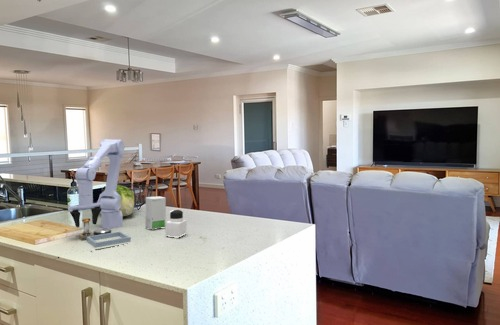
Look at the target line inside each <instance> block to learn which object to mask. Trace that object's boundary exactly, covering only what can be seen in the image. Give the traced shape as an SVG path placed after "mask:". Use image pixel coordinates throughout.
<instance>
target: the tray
mask: <svg viewBox="0 0 500 325" xmlns="http://www.w3.org/2000/svg"><path fill="white" fill-rule="evenodd" d="M115 237H120V238H115ZM110 238H111V239H110ZM112 238H115V239H112ZM131 238H132V237H131V236H130V235H127V234H126V233H124V232H122V231H115V232H111V233H107V234H101V235H95V236H88V237H87V240H86V242H88V243H89V244H90V245H91V246H93V247H95V249H94V251H99V250H100V251H101V250H105V249H110V248H111V247H112V248H116V247H115V246H117V247H120V246H119V245H120V244H121V245H123V246H125V245H124V244H126V243H131V242H132V240H131ZM104 239H105V240H104ZM106 239H109V240H106ZM97 240H98V241H97ZM99 240H103V241H99Z"/></svg>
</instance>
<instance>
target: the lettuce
mask: <svg viewBox="0 0 500 325" xmlns="http://www.w3.org/2000/svg"><path fill="white" fill-rule="evenodd" d="M104 191H105V189H104V190H103V191H102V192H101V193H103V192H104ZM116 192H117V193H118V194H119V195H120V196H121V207H120V209H119V210H121V212H122V215H123V218H124V217H126V216H129V215H131V214H132V213H133V212H134V210H135V203H136V201H135V200H136V199H135V195H134V192H133V191H132V190H131V189H130V188H128V186H124V185H121V184H117V189H116ZM107 198H114V197H107Z"/></svg>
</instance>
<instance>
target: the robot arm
mask: <svg viewBox="0 0 500 325" xmlns="http://www.w3.org/2000/svg"><path fill="white" fill-rule="evenodd" d="M124 153H125V143H124V141H123V139H121V138H119V139H106V138H103V139H102V140H101V141H100V143H99V149H98V150H97V151H96V153H95V155H94V156H90V157H89V158H88V160H87V161H86V162H85V163H84V165H82V167H78V168H77V169H76V172H75V174H74V176H75V179H76V184H77V185H78V186H77V187H78V204H75V205H72V206H68V207H67V210H68V212H69V213H70V215H71V217H72V219H73V221H74V225H75V227H76V228H80V225H81V223H80V221H81V220H80V217H81V212H80V211H82V210H84V211H85V210H91V218H92V220H91V222H92V224H93V225H97V222H98V218H99V215H100V214H101V215H100V216H101V229H109V230H111V229H115V228H121V227H124V226H123V225H124V224H123V222H124V221H123V219H124V217H123V215H122V212H121V210H119V209H120V207H121V196H120V195H119V194H118V193H117V192H116V189H117V185H118V182H119V176H120V168H121V163H122V162H121V161H122V158H123V157H124ZM104 158H109V164H108V170H107V175H106V182H105V187H104V188H105V189H104V190H105V191H104V190H103V191H104V192H103V191H102V192H103V193H102V192H101V193H100V194H99V197H98V200H97V201H96V202H94V198H93V197H94V194H93V192H94V190H93V187H94V186H93V185H94V184H93V181H94V180H95V178H96V175H97V171H98V169H99V168H100V167H101V166H102V161H103V159H104ZM107 197H114V198H107Z"/></svg>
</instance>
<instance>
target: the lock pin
mask: <svg viewBox="0 0 500 325" xmlns="http://www.w3.org/2000/svg"><path fill="white" fill-rule="evenodd" d="M81 222H82V228H83V229H82V230H83V231H82V233H83V236H84V235H89V232H90V222H91V218H89V217H87V218H82V219H81Z"/></svg>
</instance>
